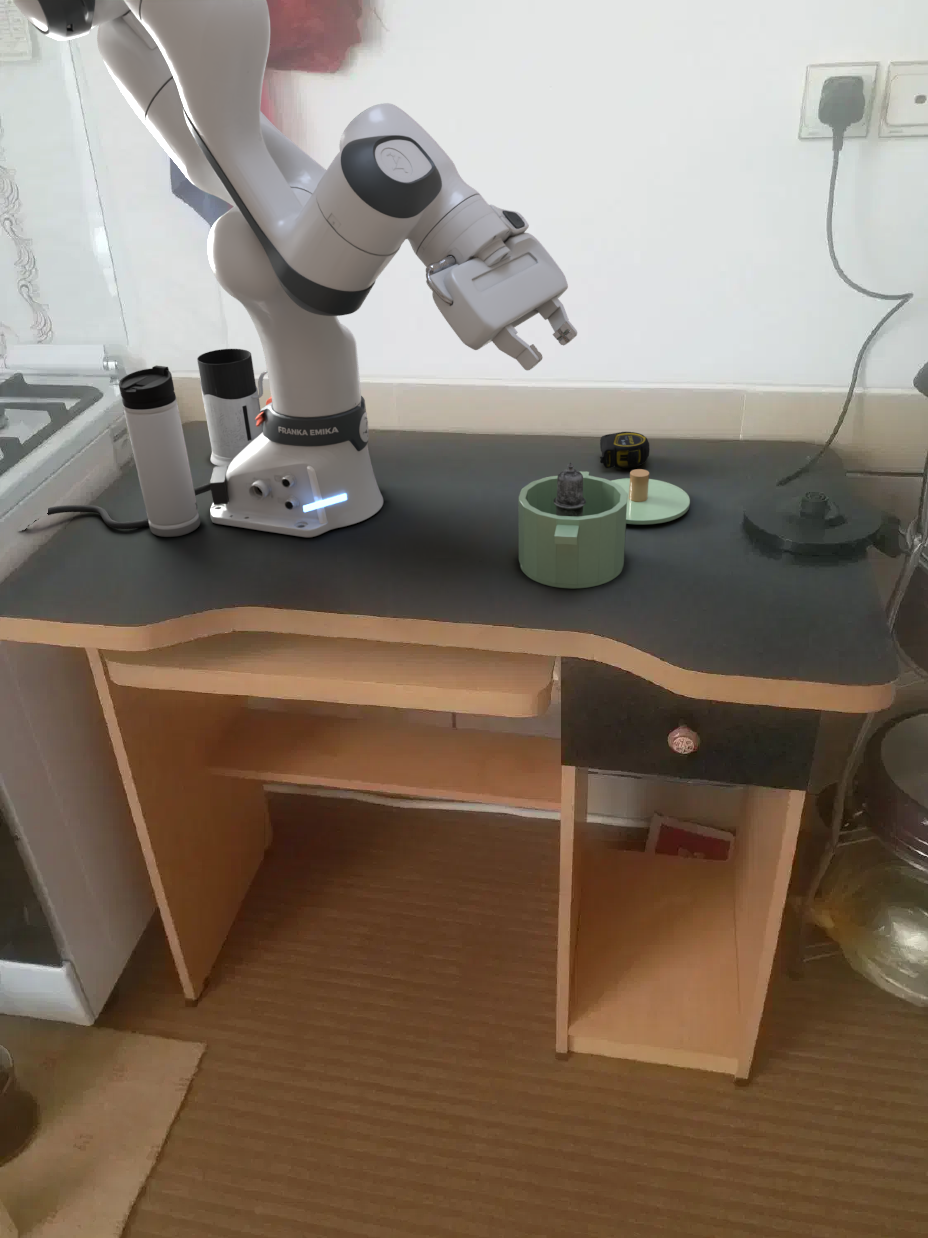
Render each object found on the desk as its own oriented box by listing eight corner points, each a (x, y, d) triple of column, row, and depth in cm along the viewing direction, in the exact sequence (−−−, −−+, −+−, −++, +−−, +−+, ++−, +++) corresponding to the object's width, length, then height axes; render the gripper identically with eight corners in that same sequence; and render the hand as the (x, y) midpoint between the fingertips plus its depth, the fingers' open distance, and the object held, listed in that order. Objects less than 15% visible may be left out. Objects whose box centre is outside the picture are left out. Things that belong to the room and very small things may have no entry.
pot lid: (583, 526, 122) (584, 491, 120) (590, 484, 133) (591, 451, 131) (690, 531, 120) (693, 496, 118) (688, 488, 131) (691, 454, 129)
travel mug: (212, 519, 128) (184, 367, 118) (179, 541, 123) (147, 384, 113) (173, 512, 130) (142, 362, 120) (140, 533, 125) (104, 378, 115)
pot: (509, 597, 108) (508, 527, 104) (529, 527, 123) (529, 463, 118) (619, 604, 106) (623, 533, 102) (626, 532, 121) (630, 467, 116)
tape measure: (599, 454, 142) (600, 429, 140) (647, 454, 142) (648, 429, 140) (599, 473, 136) (600, 447, 135) (649, 473, 136) (651, 447, 134)
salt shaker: (590, 573, 111) (593, 474, 105) (538, 569, 112) (539, 471, 106) (597, 550, 116) (600, 454, 110) (547, 546, 117) (548, 450, 111)
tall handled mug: (234, 442, 152) (218, 344, 144) (312, 454, 146) (300, 354, 138) (198, 462, 145) (179, 361, 137) (278, 476, 139) (263, 372, 132)
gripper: (437, 246, 92) (533, 361, 93) (527, 209, 107) (608, 308, 108) (399, 291, 96) (491, 401, 97) (491, 250, 111) (569, 345, 112)
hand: (554, 352), depth 103 cm, fingers open, 8 cm apart
